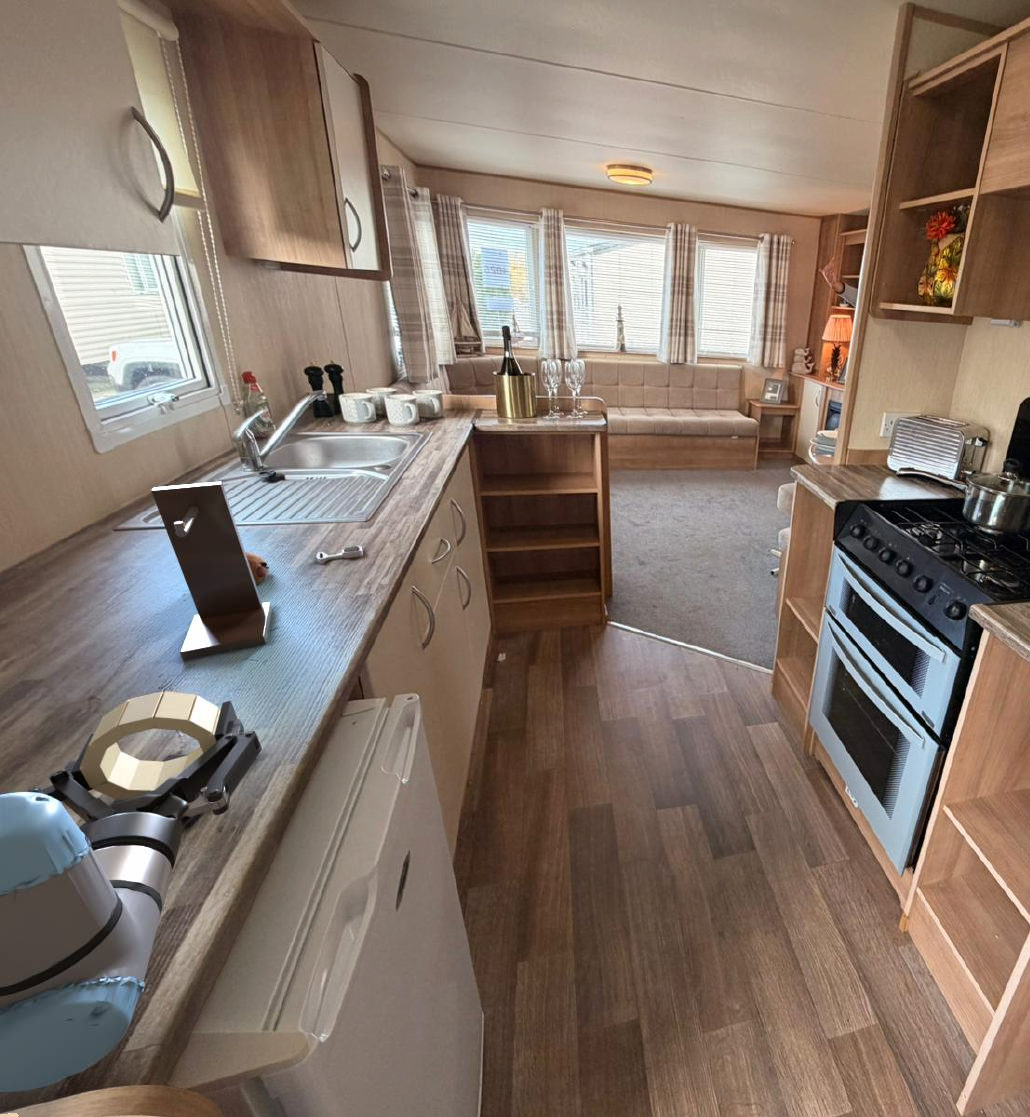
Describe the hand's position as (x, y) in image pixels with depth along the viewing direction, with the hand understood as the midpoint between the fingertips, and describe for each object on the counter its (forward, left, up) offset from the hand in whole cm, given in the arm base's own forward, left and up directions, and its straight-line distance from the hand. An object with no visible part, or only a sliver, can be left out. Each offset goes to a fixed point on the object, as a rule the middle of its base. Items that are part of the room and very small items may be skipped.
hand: (168, 725), depth 68 cm
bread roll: (-28, +47, -6) cm, 55 cm away
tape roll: (+2, -4, -5) cm, 6 cm away
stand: (-16, +29, -6) cm, 34 cm away
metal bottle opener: (-16, +60, -6) cm, 62 cm away
